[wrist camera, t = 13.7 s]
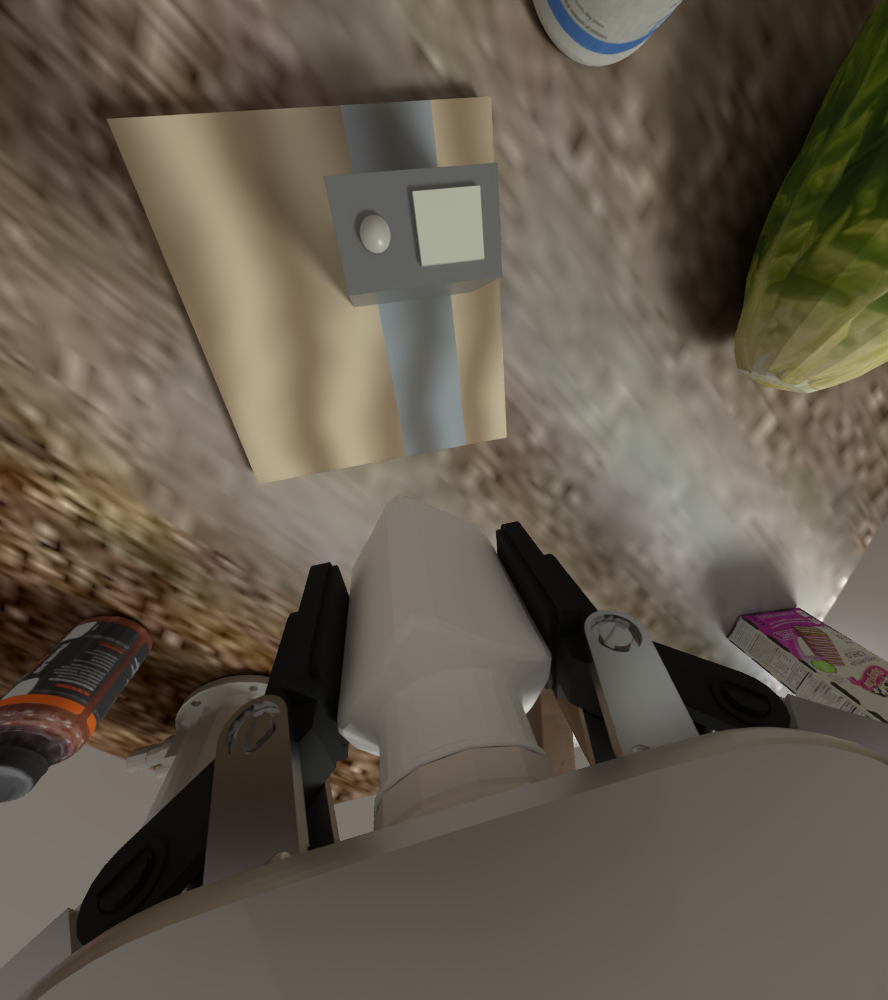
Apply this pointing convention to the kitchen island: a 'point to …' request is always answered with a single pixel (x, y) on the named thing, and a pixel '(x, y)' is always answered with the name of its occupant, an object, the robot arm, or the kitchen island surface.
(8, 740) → the supplement bottle
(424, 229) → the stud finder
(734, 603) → the kitchen island surface
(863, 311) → the lettuce
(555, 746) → the wooden letter
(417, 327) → the plywood panel
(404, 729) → the pepper shaker
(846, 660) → the candy bar box
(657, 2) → the supplement tub
